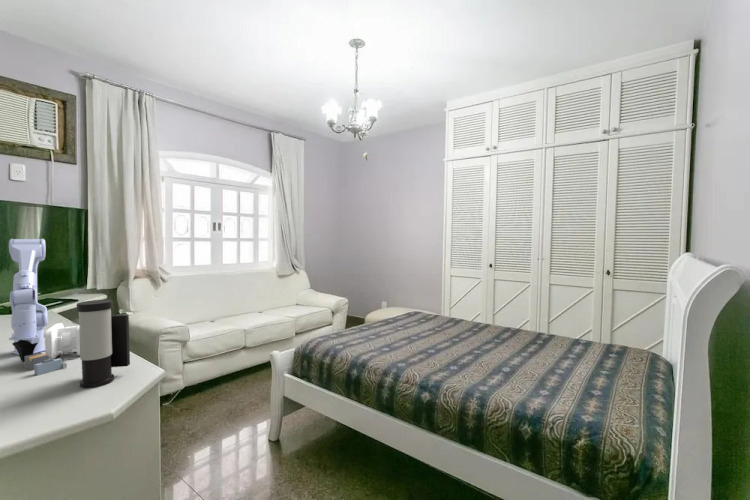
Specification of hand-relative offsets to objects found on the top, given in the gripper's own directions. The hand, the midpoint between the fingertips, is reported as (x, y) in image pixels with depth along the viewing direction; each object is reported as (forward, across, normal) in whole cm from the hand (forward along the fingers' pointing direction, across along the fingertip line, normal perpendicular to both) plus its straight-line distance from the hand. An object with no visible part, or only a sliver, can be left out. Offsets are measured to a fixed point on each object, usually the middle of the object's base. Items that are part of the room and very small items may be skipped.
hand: (26, 361), depth 122 cm
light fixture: (+1, +41, +2) cm, 41 cm away
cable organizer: (+1, +2, +11) cm, 12 cm away
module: (+1, +7, 0) cm, 7 cm away
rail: (+1, +9, +3) cm, 10 cm away
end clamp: (+1, +16, 0) cm, 16 cm away
